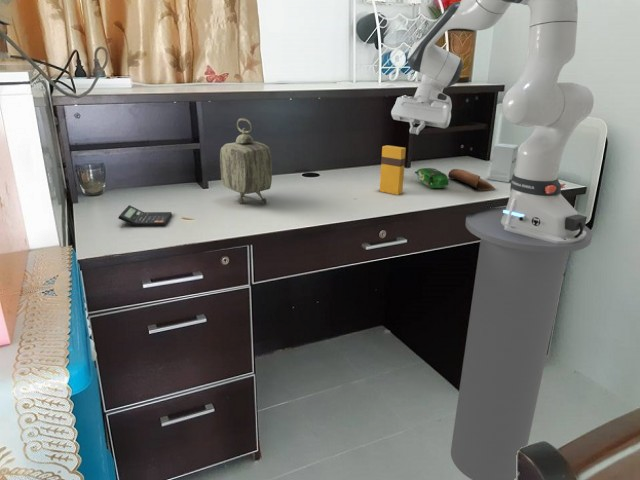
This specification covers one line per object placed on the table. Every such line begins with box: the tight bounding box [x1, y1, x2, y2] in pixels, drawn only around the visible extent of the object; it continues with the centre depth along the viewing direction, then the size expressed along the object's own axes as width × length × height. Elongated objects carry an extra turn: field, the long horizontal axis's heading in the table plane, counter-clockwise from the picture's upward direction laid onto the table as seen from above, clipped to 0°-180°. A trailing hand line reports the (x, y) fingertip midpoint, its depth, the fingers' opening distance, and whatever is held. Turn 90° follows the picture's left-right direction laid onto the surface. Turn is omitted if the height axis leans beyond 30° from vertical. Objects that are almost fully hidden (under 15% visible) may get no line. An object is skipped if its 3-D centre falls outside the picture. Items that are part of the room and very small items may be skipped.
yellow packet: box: [379, 144, 407, 195], centre depth 165 cm, size 3×7×15 cm, turn 53°
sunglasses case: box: [447, 168, 496, 192], centre depth 179 cm, size 18×7×7 cm, turn 19°
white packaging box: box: [488, 143, 520, 183], centre depth 185 cm, size 7×7×13 cm
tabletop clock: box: [219, 117, 273, 204], centre depth 150 cm, size 14×9×25 cm, turn 45°
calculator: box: [117, 204, 173, 227], centre depth 136 cm, size 9×12×3 cm
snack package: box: [414, 167, 449, 189], centre depth 177 cm, size 7×16×5 cm, turn 12°
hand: (413, 133), depth 171 cm, fingers closed
